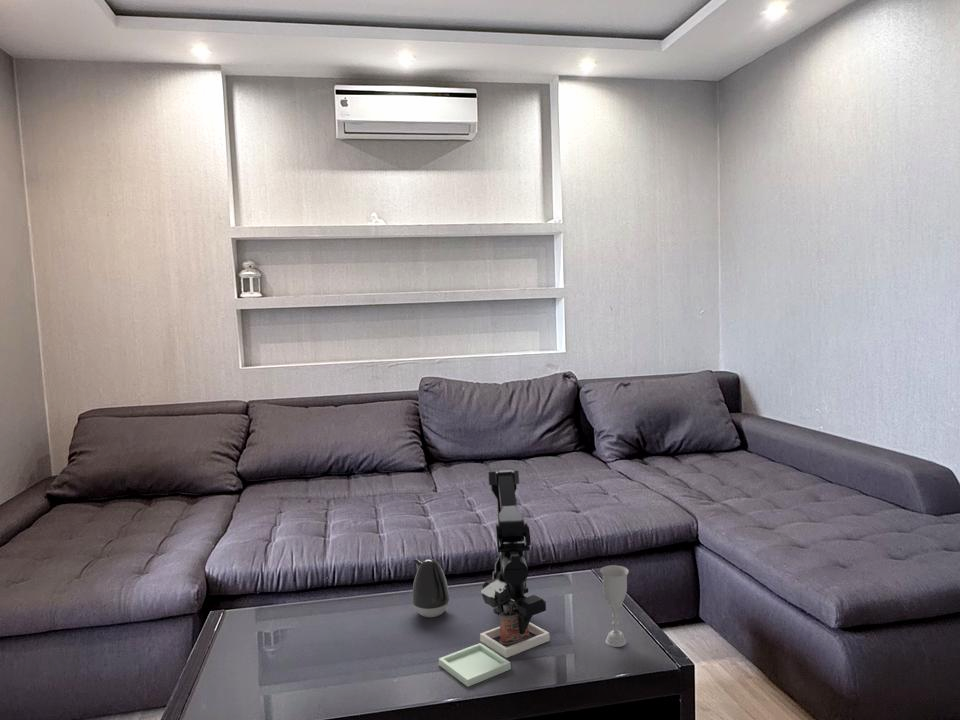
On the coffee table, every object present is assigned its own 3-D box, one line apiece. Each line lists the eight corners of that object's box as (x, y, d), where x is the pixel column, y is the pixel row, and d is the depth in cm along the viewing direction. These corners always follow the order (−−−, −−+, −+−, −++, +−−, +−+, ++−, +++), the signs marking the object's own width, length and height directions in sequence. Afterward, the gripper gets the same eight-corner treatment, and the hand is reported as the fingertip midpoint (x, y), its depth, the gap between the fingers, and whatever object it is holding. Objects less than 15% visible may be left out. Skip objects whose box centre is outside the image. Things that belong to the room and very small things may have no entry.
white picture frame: (480, 641, 176) (480, 633, 176) (522, 625, 184) (522, 618, 184) (506, 658, 168) (505, 649, 167) (549, 640, 175) (549, 632, 175)
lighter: (504, 648, 172) (502, 608, 172) (497, 642, 176) (496, 603, 175) (532, 639, 176) (531, 601, 175) (525, 634, 179) (524, 596, 178)
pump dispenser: (428, 602, 200) (426, 550, 199) (457, 610, 194) (455, 556, 193) (404, 615, 192) (401, 561, 191) (433, 624, 186) (431, 569, 185)
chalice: (630, 650, 169) (628, 577, 168) (601, 648, 171) (599, 576, 169) (629, 635, 177) (628, 565, 175) (602, 634, 178) (600, 564, 176)
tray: (438, 665, 165) (438, 658, 165) (480, 649, 172) (480, 642, 172) (467, 686, 156) (467, 679, 156) (510, 669, 163) (510, 662, 162)
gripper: (464, 565, 177) (466, 625, 179) (509, 588, 162) (511, 654, 163) (499, 555, 184) (501, 613, 185) (546, 576, 168) (548, 639, 170)
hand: (514, 629), depth 176 cm, fingers open, 6 cm apart
